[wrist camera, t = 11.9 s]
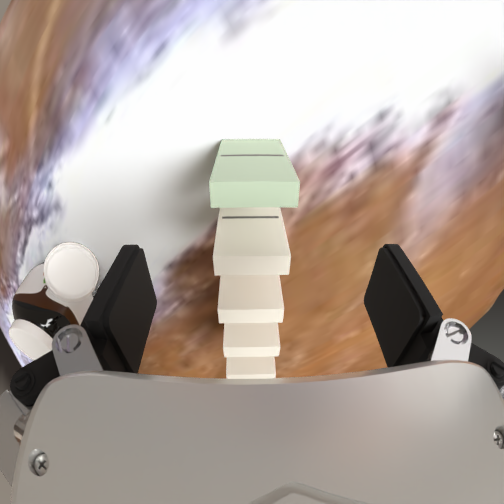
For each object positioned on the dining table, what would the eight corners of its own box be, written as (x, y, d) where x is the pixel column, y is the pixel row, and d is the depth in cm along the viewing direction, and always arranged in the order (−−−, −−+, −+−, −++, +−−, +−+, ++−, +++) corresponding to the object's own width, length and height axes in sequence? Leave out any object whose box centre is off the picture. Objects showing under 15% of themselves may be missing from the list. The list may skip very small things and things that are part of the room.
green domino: (279, 156, 25) (297, 207, 17) (222, 156, 24) (210, 208, 16) (279, 139, 24) (299, 181, 16) (221, 139, 24) (209, 181, 15)
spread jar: (47, 293, 34) (14, 355, 25) (27, 229, 28) (-23, 291, 18) (115, 309, 36) (90, 381, 26) (104, 241, 29) (60, 318, 20)
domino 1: (275, 206, 28) (288, 274, 20) (223, 206, 27) (214, 275, 19) (276, 190, 27) (290, 255, 19) (222, 191, 26) (212, 256, 18)
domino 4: (268, 312, 36) (274, 381, 28) (229, 313, 36) (227, 381, 28) (269, 304, 35) (275, 373, 27) (228, 304, 35) (226, 374, 27)
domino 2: (272, 249, 31) (282, 322, 22) (225, 249, 30) (219, 323, 22) (273, 235, 30) (284, 308, 21) (224, 236, 29) (217, 309, 21)
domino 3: (271, 283, 33) (278, 356, 25) (227, 284, 33) (224, 357, 25) (271, 273, 32) (280, 346, 24) (227, 273, 32) (223, 347, 24)
